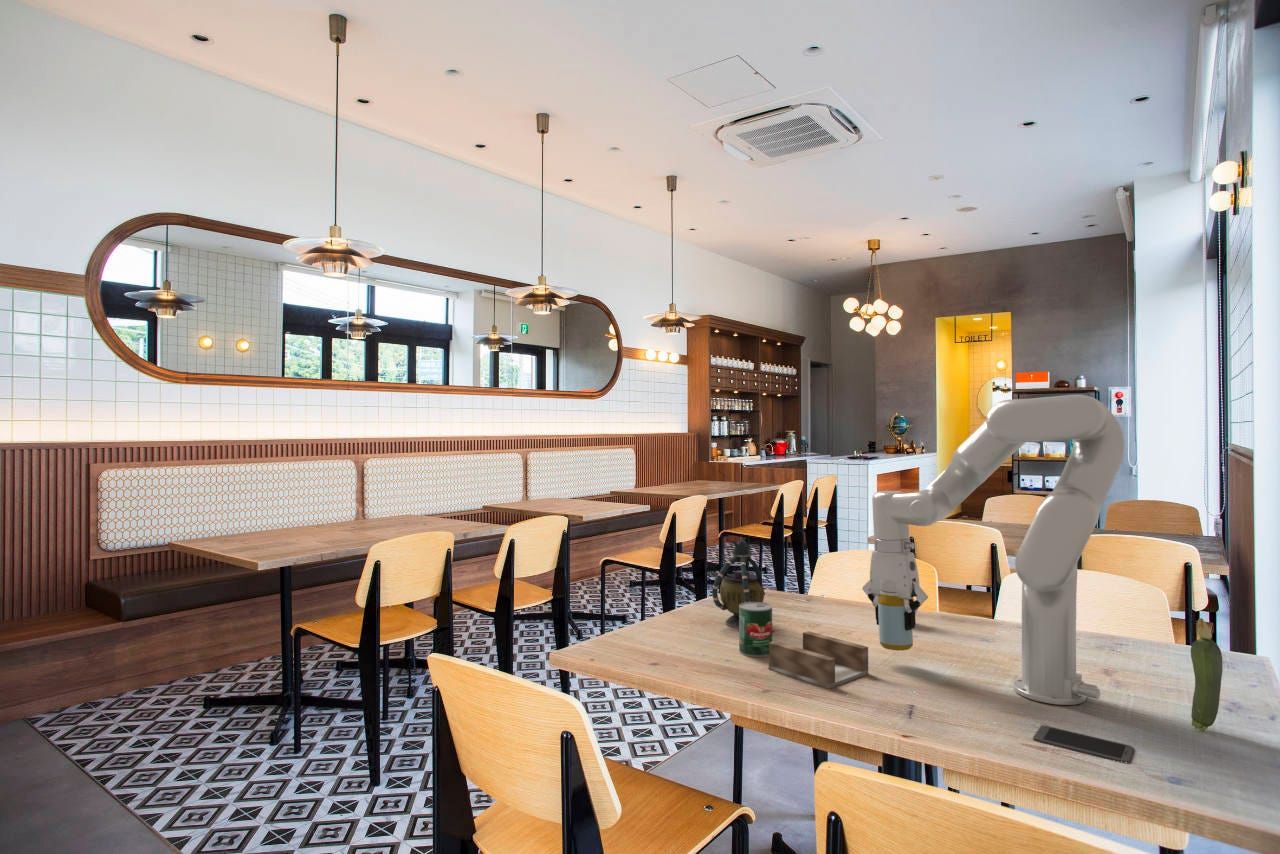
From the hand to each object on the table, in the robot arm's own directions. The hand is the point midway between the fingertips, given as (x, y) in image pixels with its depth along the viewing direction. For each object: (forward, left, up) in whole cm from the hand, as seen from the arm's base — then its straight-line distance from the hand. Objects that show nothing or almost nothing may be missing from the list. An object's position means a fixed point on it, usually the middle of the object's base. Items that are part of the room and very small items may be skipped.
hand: (895, 625), depth 162 cm
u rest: (+9, +16, -9) cm, 21 cm away
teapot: (+47, -3, -9) cm, 48 cm away
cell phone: (-42, +12, -10) cm, 45 cm away
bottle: (0, 0, -5) cm, 5 cm away
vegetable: (-54, -10, -9) cm, 56 cm away
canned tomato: (+27, +16, -9) cm, 33 cm away
